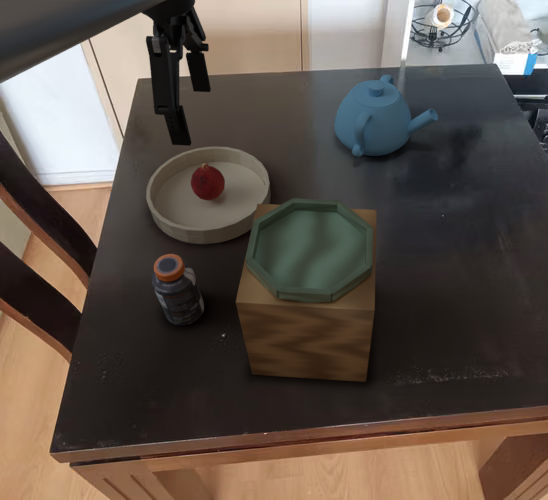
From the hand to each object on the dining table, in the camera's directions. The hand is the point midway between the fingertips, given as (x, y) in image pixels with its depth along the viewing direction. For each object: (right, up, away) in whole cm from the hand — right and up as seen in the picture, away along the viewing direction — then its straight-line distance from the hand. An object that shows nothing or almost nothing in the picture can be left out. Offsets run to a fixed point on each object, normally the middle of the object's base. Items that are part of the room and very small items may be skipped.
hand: (192, 115), depth 84 cm
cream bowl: (0, -12, +14) cm, 18 cm away
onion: (0, -12, +14) cm, 18 cm away
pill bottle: (-1, -30, -1) cm, 30 cm away
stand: (+19, -33, -4) cm, 38 cm away
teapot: (+32, +1, +25) cm, 41 cm away
